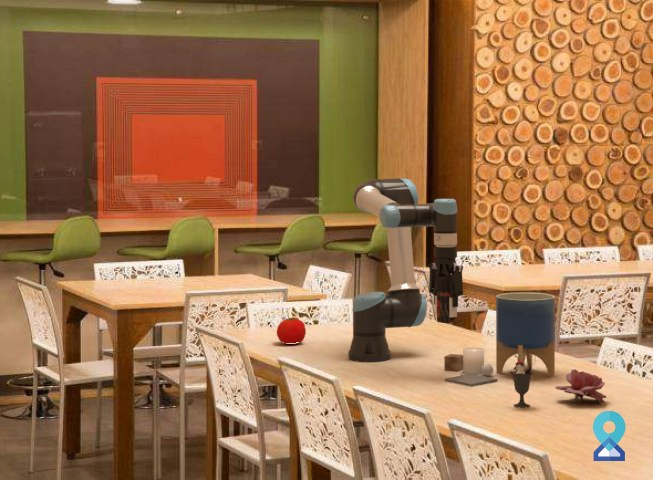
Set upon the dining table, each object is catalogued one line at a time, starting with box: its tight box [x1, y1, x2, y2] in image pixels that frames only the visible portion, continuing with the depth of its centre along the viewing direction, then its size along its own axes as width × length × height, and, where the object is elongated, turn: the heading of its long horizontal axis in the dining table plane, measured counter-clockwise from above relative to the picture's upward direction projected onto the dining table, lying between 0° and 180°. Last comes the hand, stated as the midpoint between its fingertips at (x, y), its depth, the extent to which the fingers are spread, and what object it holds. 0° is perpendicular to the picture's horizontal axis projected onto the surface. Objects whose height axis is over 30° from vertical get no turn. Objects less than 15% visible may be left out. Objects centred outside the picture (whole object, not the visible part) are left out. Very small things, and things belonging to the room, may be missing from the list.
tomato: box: [276, 316, 307, 344], centre depth 479 cm, size 11×13×10 cm
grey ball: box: [481, 363, 494, 377], centre depth 413 cm, size 4×4×4 cm
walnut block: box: [443, 353, 463, 373], centre depth 425 cm, size 5×5×5 cm
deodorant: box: [436, 275, 456, 324], centre depth 411 cm, size 6×6×15 cm
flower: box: [554, 369, 607, 405], centre depth 372 cm, size 15×15×10 cm
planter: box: [495, 291, 556, 377], centre depth 414 cm, size 19×19×26 cm
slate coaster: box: [444, 374, 498, 387], centre depth 405 cm, size 12×12×1 cm
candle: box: [462, 347, 485, 376], centre depth 419 cm, size 7×7×8 cm
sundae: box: [510, 354, 534, 409], centre depth 368 cm, size 7×7×15 cm
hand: (446, 315), depth 412 cm, fingers closed on deodorant, 6 cm apart
